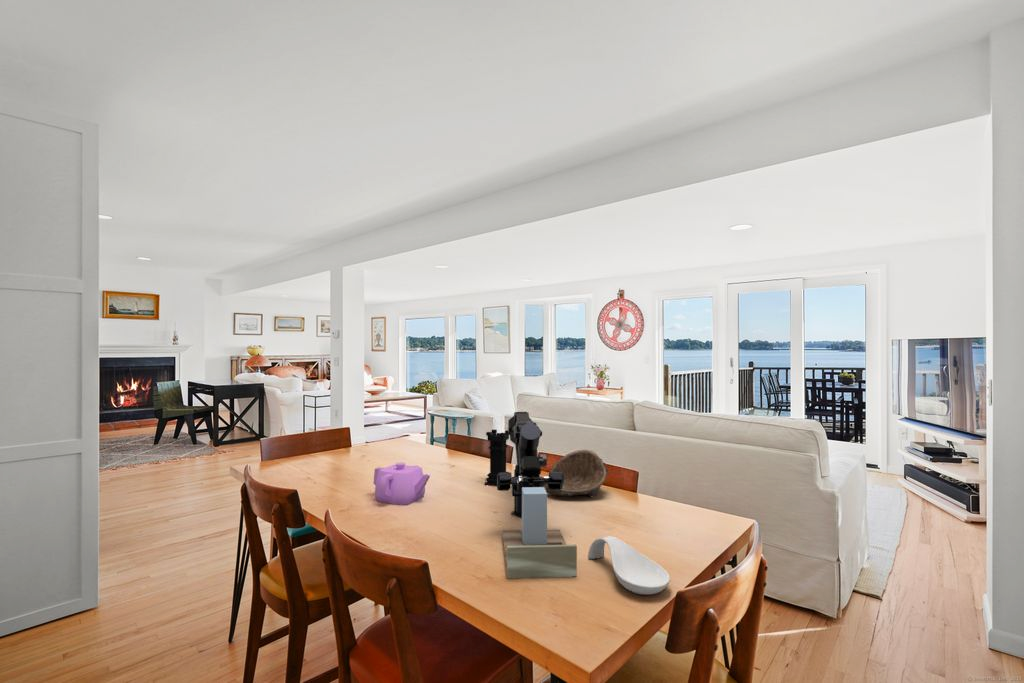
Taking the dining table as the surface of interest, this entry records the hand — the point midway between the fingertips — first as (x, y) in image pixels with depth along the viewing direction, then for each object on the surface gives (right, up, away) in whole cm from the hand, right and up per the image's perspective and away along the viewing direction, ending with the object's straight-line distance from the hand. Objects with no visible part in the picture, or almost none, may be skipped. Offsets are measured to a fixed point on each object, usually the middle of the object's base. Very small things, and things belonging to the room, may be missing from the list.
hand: (532, 509), depth 136 cm
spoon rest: (+20, -9, -21) cm, 30 cm away
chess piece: (-11, -9, +56) cm, 58 cm away
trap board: (+1, -8, -9) cm, 13 cm away
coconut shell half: (+18, -9, +41) cm, 46 cm away
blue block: (0, -7, -4) cm, 8 cm away
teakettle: (-44, -9, +37) cm, 58 cm away
